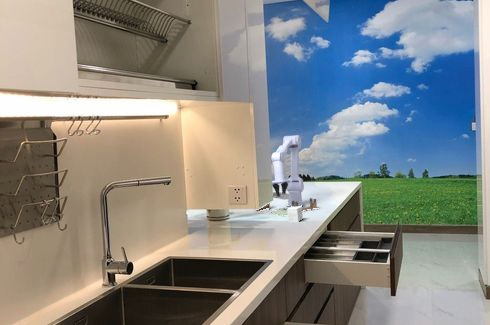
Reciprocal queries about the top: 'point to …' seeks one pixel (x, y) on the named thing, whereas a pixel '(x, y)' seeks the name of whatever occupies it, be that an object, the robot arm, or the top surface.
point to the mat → (280, 212)
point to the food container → (264, 207)
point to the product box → (294, 214)
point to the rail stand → (312, 205)
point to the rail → (281, 195)
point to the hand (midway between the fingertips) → (281, 196)
